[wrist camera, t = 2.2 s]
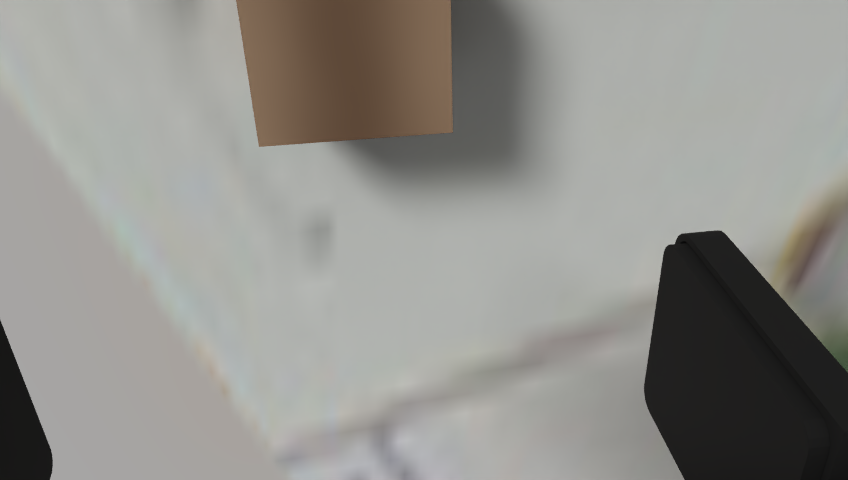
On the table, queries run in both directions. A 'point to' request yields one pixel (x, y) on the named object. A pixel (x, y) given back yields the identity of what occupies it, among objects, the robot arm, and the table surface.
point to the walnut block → (347, 68)
